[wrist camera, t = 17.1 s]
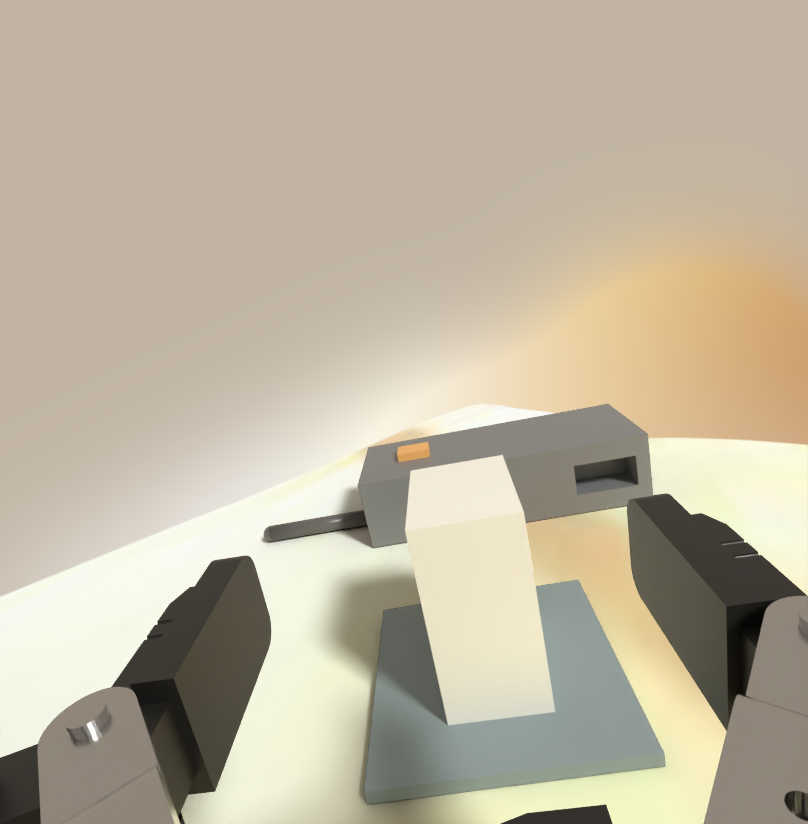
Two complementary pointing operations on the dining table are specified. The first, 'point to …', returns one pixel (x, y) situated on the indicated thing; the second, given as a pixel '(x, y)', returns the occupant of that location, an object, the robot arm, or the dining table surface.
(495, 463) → the plug
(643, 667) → the dining table surface
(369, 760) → the mat
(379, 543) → the socket strip
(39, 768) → the robot arm
